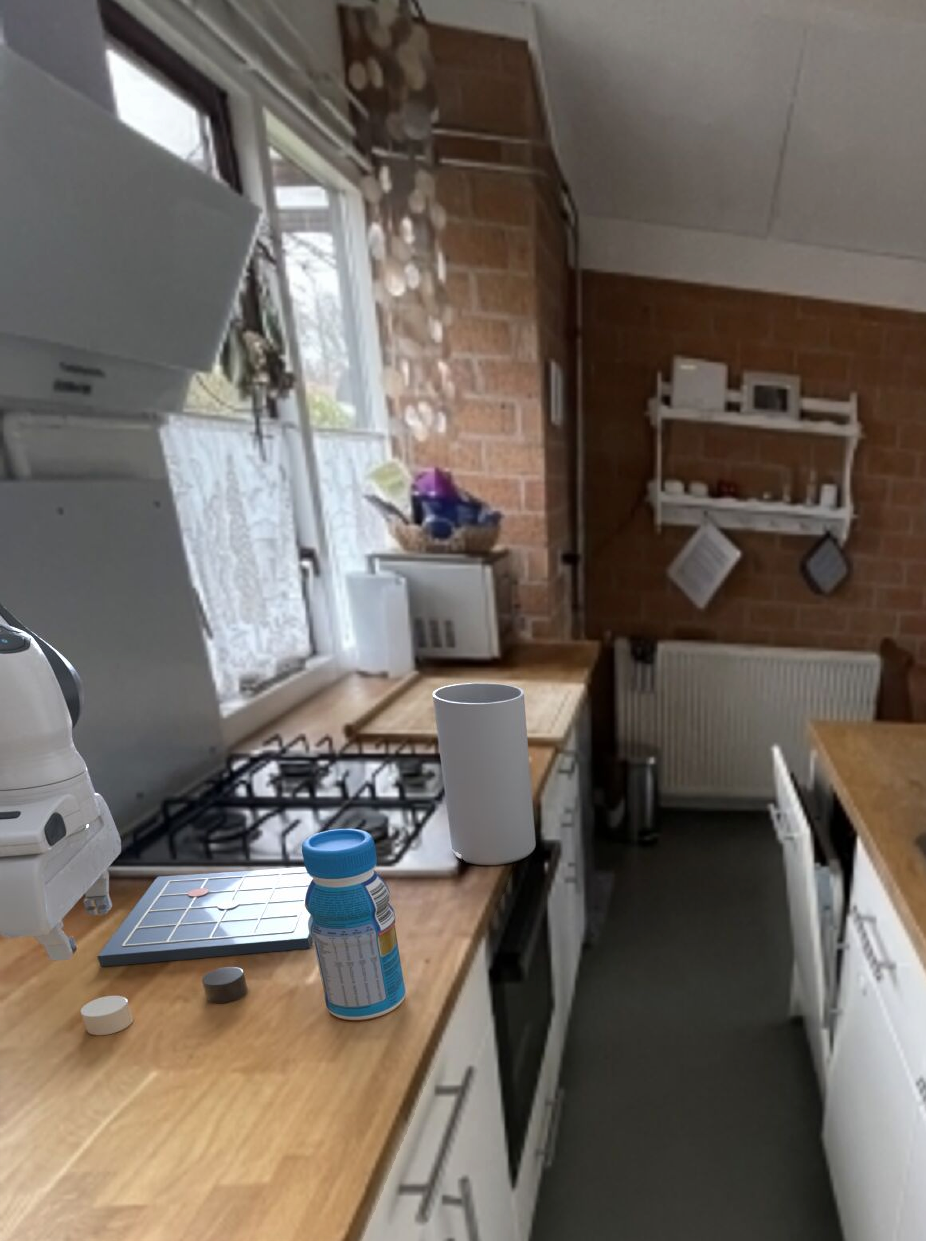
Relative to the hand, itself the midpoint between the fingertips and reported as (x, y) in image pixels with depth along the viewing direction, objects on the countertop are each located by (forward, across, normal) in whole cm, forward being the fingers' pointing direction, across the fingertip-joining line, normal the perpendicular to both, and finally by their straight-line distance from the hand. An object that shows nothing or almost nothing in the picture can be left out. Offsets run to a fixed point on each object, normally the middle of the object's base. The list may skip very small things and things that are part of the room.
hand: (83, 933), depth 88 cm
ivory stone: (+11, 0, 0) cm, 11 cm away
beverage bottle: (+11, +1, +24) cm, 27 cm away
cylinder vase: (+12, -40, +39) cm, 57 cm away
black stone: (+11, -4, +10) cm, 15 cm away
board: (+11, -24, +6) cm, 27 cm away
